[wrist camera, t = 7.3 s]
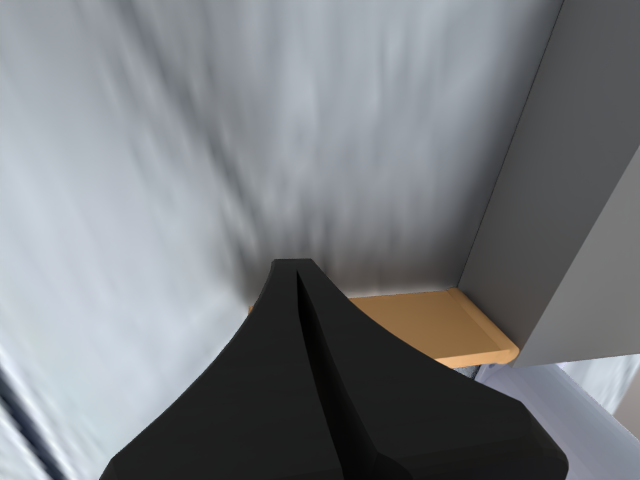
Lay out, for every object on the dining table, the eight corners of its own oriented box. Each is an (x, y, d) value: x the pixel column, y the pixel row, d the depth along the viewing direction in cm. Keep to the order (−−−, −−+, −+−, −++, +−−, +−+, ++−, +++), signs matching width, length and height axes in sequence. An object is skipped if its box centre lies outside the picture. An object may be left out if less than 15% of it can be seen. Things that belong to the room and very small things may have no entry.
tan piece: (462, 286, 17) (522, 345, 13) (455, 308, 18) (510, 369, 14) (248, 303, 15) (243, 380, 11) (250, 327, 15) (246, 407, 11)
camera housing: (564, 295, 20) (663, 361, 15) (451, 302, 18) (521, 379, 13) (750, -17, 12) (1079, -92, 7) (585, -58, 10) (872, -192, 5)
